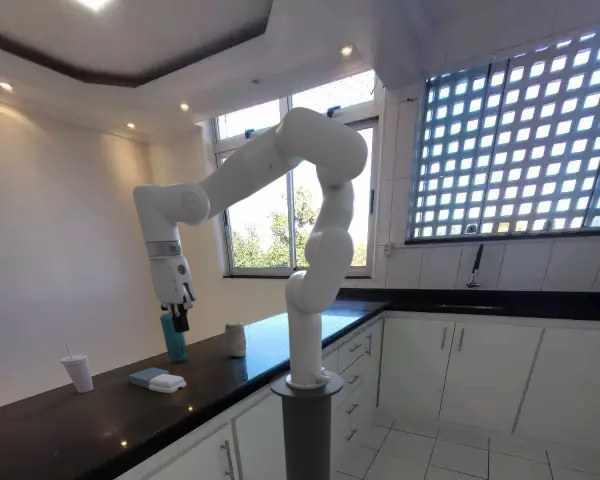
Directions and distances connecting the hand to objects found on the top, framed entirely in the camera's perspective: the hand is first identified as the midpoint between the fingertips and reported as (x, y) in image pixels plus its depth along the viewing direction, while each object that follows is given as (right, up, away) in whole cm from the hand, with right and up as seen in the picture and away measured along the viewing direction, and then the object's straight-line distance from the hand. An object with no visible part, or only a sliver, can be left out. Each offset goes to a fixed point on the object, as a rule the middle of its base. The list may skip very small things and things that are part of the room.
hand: (182, 331), depth 78 cm
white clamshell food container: (-8, -14, +11) cm, 19 cm away
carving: (+7, -1, +35) cm, 36 cm away
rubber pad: (-15, -12, +15) cm, 25 cm away
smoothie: (-32, -15, +11) cm, 37 cm away
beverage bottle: (-13, -4, +31) cm, 34 cm away
